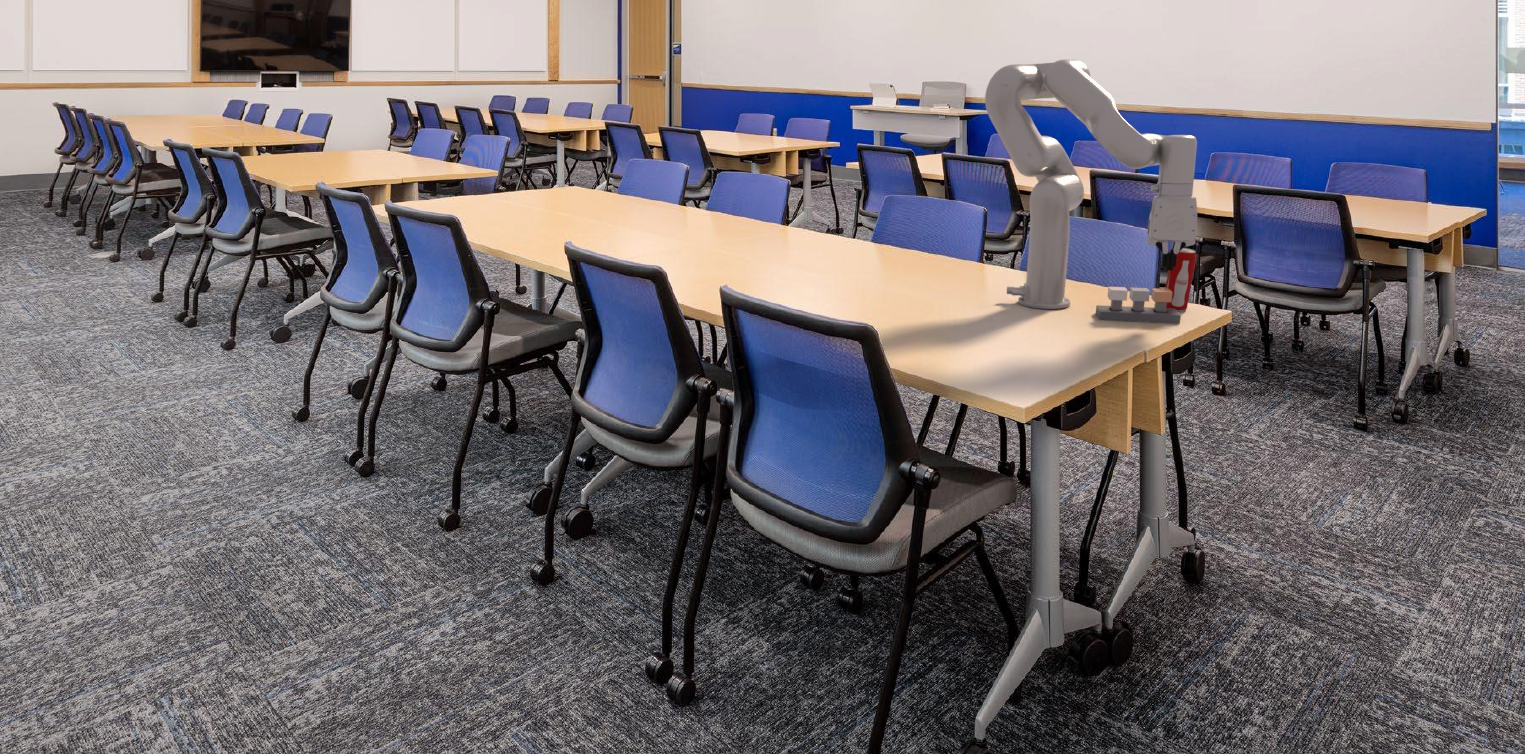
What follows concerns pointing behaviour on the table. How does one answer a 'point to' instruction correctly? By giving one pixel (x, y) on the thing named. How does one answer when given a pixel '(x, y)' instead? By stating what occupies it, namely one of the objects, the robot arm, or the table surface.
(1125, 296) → the key white
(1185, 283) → the beverage can
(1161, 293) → the key terracotta
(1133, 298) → the key grey
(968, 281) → the table surface
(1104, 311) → the grey key base
